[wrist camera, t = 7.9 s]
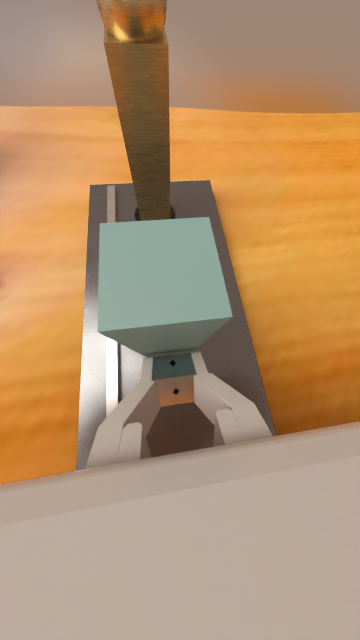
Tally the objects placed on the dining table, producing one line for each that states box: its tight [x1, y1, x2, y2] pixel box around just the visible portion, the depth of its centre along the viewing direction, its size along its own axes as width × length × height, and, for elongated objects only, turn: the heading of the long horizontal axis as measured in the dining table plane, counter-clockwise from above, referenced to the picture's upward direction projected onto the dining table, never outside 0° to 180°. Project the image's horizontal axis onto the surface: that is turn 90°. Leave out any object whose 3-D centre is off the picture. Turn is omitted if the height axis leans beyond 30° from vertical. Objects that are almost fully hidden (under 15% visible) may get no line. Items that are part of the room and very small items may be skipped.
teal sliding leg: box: [97, 217, 233, 358], centre depth 9 cm, size 3×3×10 cm
